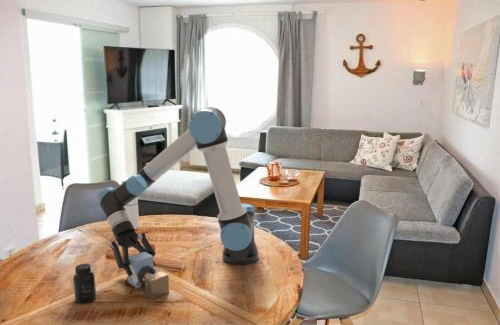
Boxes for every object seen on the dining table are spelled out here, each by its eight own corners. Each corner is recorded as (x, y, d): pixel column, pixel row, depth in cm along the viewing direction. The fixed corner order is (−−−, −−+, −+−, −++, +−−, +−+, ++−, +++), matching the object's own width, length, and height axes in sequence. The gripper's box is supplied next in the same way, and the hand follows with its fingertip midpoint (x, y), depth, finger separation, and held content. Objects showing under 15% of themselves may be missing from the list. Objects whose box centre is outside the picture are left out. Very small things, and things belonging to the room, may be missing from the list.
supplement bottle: (99, 293, 147) (96, 261, 145) (92, 303, 141) (89, 270, 138) (79, 294, 147) (76, 262, 145) (71, 304, 140) (68, 271, 138)
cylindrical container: (135, 230, 209) (132, 181, 204) (121, 229, 211) (118, 180, 206) (141, 225, 216) (139, 178, 211) (128, 224, 218) (125, 177, 213)
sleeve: (128, 282, 153) (127, 256, 151) (145, 276, 158) (144, 251, 156) (137, 288, 149) (135, 261, 147) (154, 281, 154) (152, 256, 152)
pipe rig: (115, 276, 160) (114, 259, 159) (132, 270, 165) (131, 254, 164) (151, 300, 143) (150, 281, 142) (169, 293, 148) (168, 274, 146)
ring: (138, 285, 149) (137, 269, 148) (153, 279, 154) (152, 263, 152) (140, 287, 148) (139, 270, 147) (155, 281, 152) (155, 265, 151)
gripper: (141, 223, 168) (165, 274, 160) (93, 237, 154) (117, 293, 146) (147, 214, 163) (173, 265, 155) (98, 226, 149) (124, 284, 141)
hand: (146, 279), depth 151 cm, fingers closed on sleeve, 7 cm apart
